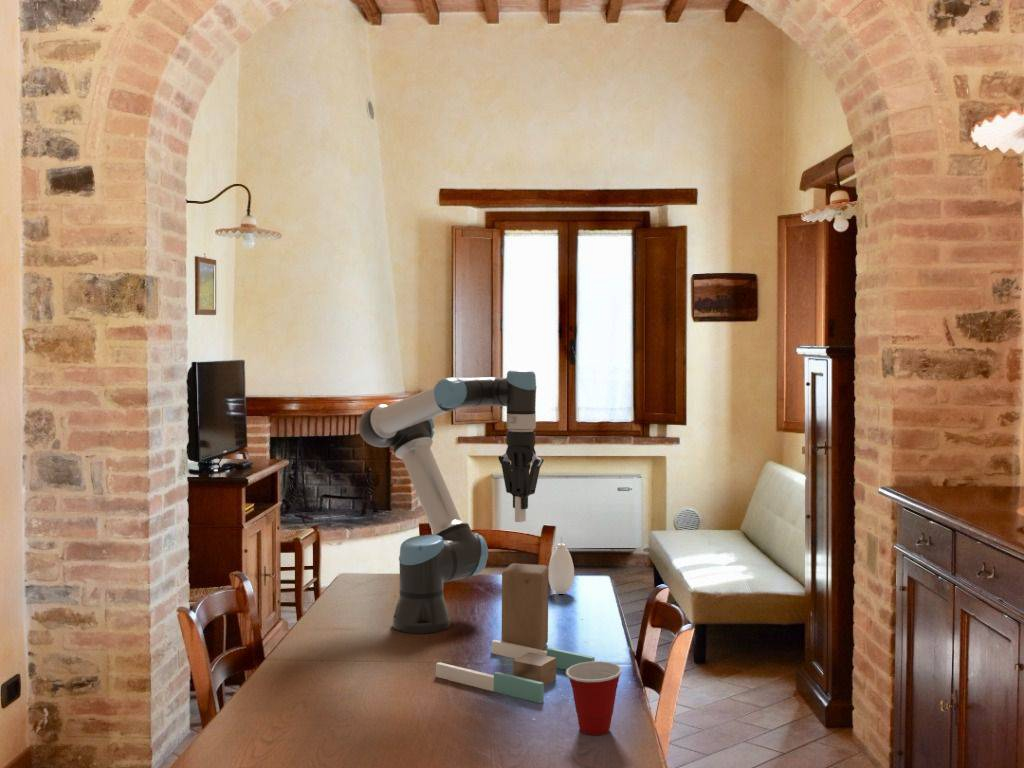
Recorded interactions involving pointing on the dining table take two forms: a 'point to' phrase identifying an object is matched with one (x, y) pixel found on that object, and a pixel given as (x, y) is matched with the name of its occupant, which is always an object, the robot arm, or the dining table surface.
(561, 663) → the walled lane
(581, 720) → the plastic cup
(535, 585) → the wooden block
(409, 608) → the robot arm
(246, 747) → the dining table surface
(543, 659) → the walnut block
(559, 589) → the sauce bottle
